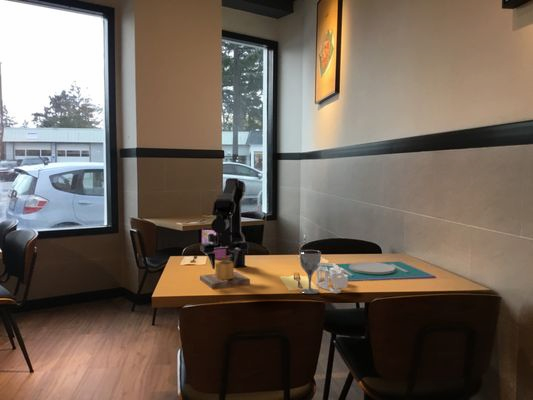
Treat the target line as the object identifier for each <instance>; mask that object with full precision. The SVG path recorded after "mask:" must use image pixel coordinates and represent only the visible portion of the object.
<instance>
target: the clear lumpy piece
mask: <svg viewBox="0 0 533 400" xmlns="http://www.w3.org/2000/svg"><path fill="white" fill-rule="evenodd" d="M336 264H337V263H334V262H321V261H320V265H319V266H320V267H318V269H317V270H316V285H317V286H318V287H319V288H322V289H324V290H327V291H330V292H331V293H332V294H339V293H341V292H342V289H345V288H348V286H349V285H348V282H349V281H348V275H346V274H344V269H343V268H340V267H338V266H337V265H336ZM322 265H324V266H333V267H332V268H330V271H328V269H327V267H322ZM323 273H324V276H323ZM328 274H330V275H329V276H328ZM321 281H322V282H321ZM323 281H324V282H323ZM329 282H332V287H331V286H329Z"/></svg>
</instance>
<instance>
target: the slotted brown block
mask: <svg viewBox="0 0 533 400" xmlns="http://www.w3.org/2000/svg"><path fill="white" fill-rule="evenodd" d="M221 261H222V264H227V261H228V260H221ZM199 280H200V281H201V282H202V283H204V285H206V286H208V287H209V288H210V289H212V290H213V289H218V288H219V289H220V288H229V287H238V286H244V285H245V286H246V285H250V284H251V279H250V278H249V277H247V276H245V275H243V274H242V273H239V271H234V277H233V278H232V279H226V280H223V279H217V278H216V273H212V274H203V275H201V274H200V275H199Z"/></svg>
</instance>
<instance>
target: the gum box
mask: <svg viewBox="0 0 533 400" xmlns="http://www.w3.org/2000/svg"><path fill="white" fill-rule="evenodd" d="M209 234H214V236H215V235H216V232H215V231H213V229H212V228H211V230H210V229H203V228H202V229H201V244H206V243H210V244H213V242H208V235H209ZM216 245H217V244H216ZM220 247H221V246H220ZM213 252H214V253H215V260H217V259H226V258H227V249H217V250H214V251H213ZM202 253H203V254H205V253H204V252H202ZM205 255H206V256H208V255H207V254H205Z"/></svg>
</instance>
